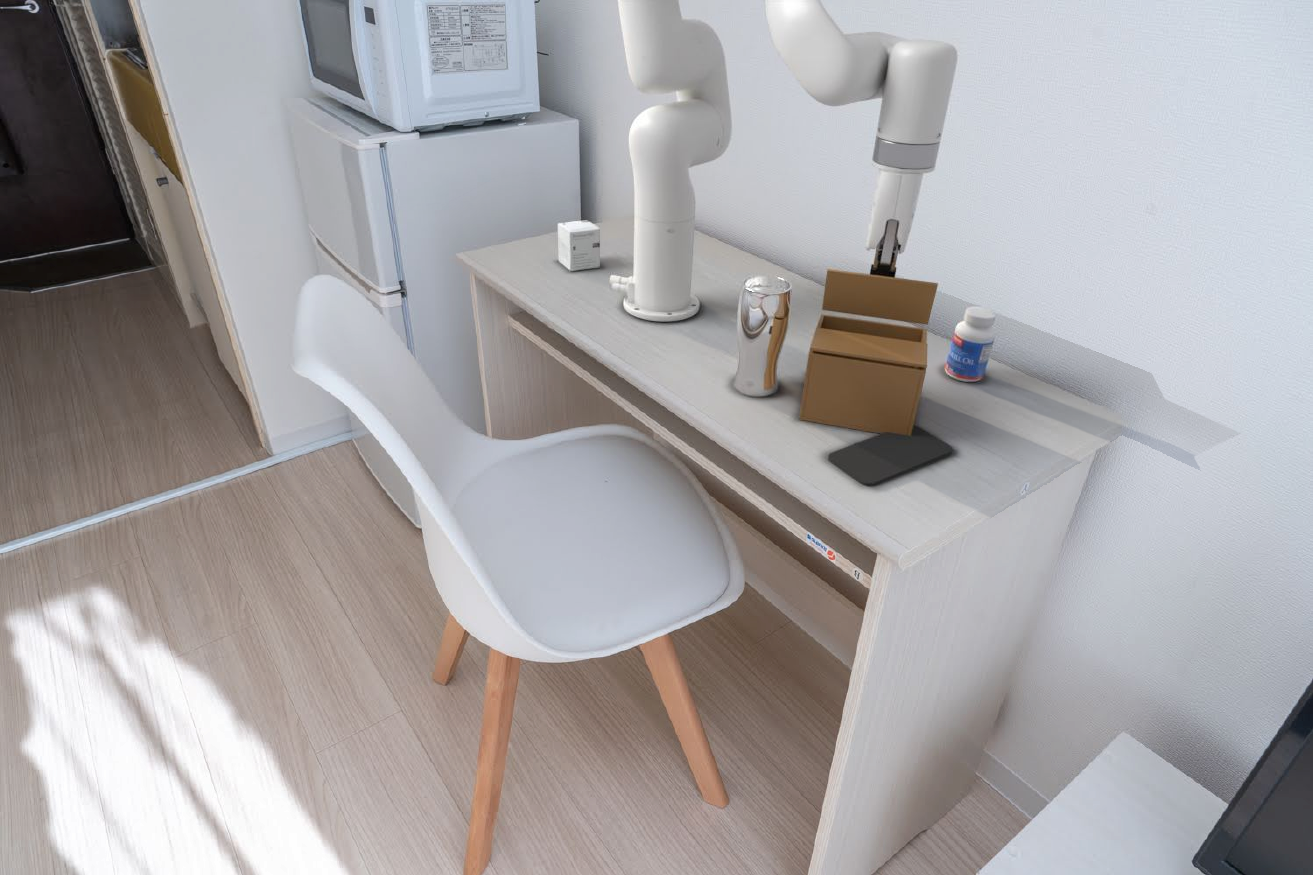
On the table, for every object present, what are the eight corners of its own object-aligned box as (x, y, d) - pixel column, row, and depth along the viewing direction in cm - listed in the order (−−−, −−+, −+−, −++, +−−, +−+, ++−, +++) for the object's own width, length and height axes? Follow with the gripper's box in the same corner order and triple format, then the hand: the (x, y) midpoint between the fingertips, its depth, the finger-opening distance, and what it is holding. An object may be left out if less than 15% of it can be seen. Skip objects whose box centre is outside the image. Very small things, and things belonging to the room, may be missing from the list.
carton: (811, 375, 114) (821, 308, 109) (912, 391, 111) (928, 323, 106) (798, 419, 104) (809, 347, 98) (910, 438, 100) (927, 365, 95)
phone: (823, 454, 96) (911, 422, 103) (822, 460, 97) (910, 427, 104) (868, 485, 91) (957, 449, 98) (866, 491, 91) (955, 455, 98)
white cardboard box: (570, 272, 146) (569, 232, 142) (558, 261, 150) (556, 222, 146) (600, 267, 148) (600, 228, 144) (587, 257, 153) (587, 218, 149)
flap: (821, 310, 109) (822, 308, 109) (927, 325, 106) (927, 323, 106) (827, 270, 104) (827, 268, 104) (937, 284, 101) (938, 283, 101)
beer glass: (778, 401, 107) (792, 296, 100) (727, 395, 109) (736, 290, 101) (782, 378, 113) (795, 277, 105) (733, 372, 114) (742, 271, 106)
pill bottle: (936, 372, 116) (952, 309, 111) (957, 362, 119) (973, 301, 114) (970, 386, 113) (987, 323, 108) (990, 376, 116) (1008, 313, 111)
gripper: (876, 139, 104) (854, 274, 114) (869, 165, 92) (845, 313, 102) (936, 144, 102) (908, 280, 112) (937, 171, 90) (905, 322, 100)
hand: (878, 296), depth 107 cm, fingers closed
